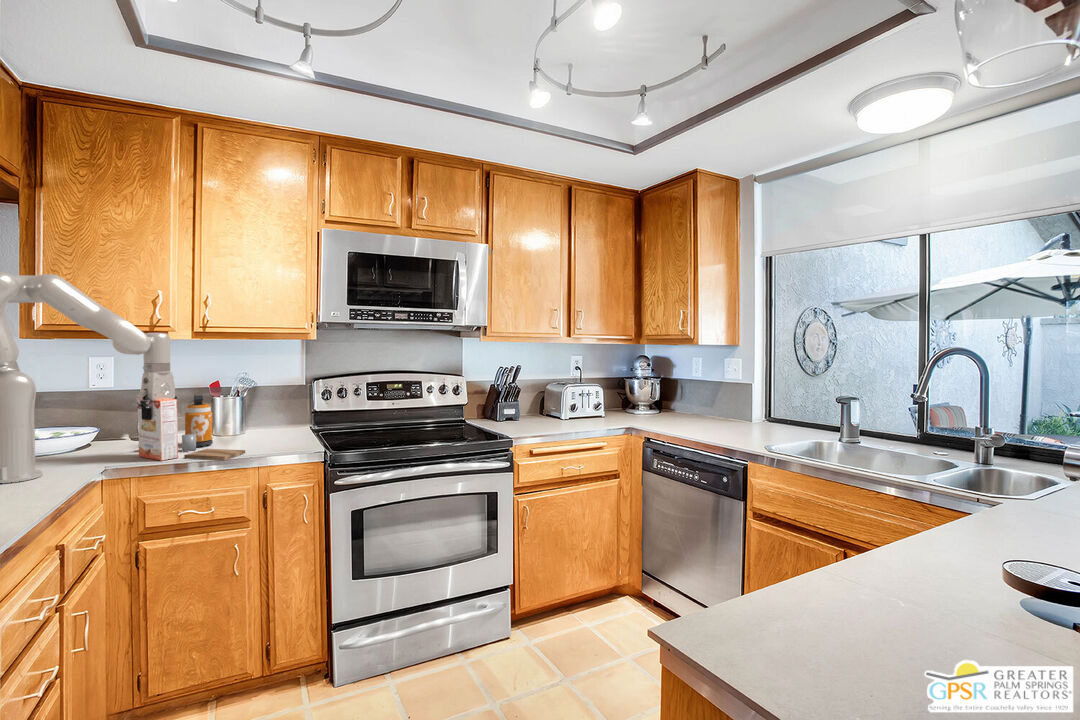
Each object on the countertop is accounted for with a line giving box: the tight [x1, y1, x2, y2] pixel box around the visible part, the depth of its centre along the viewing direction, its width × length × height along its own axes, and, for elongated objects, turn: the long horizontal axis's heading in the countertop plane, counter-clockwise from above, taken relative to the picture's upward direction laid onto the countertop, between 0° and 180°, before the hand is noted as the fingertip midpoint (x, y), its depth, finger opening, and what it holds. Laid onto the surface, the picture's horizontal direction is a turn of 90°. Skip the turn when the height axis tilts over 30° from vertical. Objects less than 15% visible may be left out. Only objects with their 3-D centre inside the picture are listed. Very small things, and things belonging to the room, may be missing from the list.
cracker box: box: [137, 398, 179, 462], centre depth 188 cm, size 14×6×21 cm, turn 62°
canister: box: [184, 393, 214, 448], centre depth 210 cm, size 9×11×20 cm
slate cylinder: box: [181, 433, 197, 453], centre depth 200 cm, size 4×4×6 cm
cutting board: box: [183, 448, 246, 461], centre depth 193 cm, size 11×15×1 cm
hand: (158, 417), depth 188 cm, fingers open, 9 cm apart
